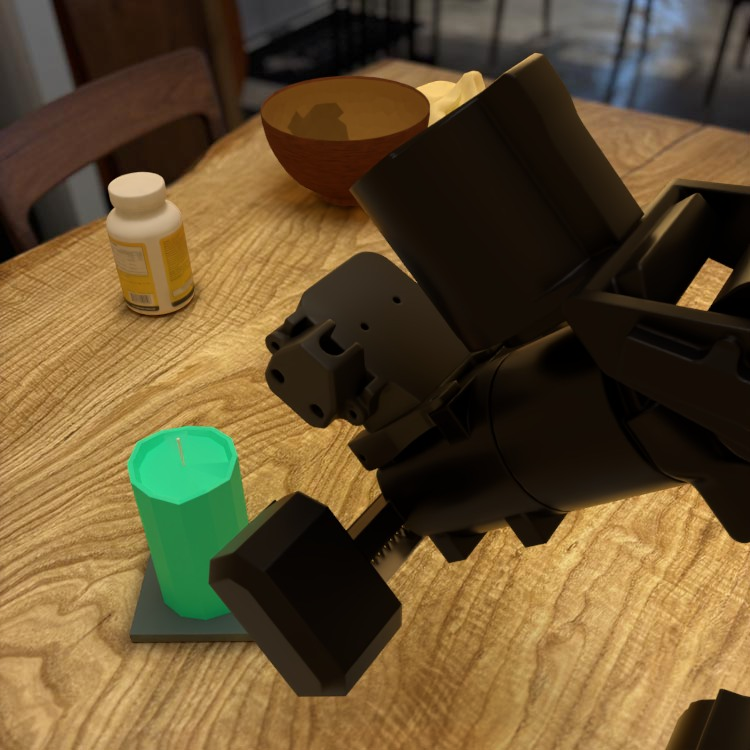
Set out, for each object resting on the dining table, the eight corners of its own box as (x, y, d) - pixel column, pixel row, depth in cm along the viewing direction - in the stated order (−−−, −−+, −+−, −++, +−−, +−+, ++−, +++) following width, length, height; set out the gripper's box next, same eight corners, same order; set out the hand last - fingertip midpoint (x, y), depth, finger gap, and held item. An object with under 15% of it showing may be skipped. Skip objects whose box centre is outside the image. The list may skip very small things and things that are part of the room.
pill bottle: (200, 278, 82) (181, 165, 74) (190, 317, 77) (169, 200, 69) (132, 280, 82) (106, 167, 74) (118, 319, 77) (89, 202, 69)
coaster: (277, 536, 57) (276, 528, 56) (265, 641, 51) (264, 633, 50) (157, 538, 57) (155, 529, 56) (131, 642, 51) (128, 634, 50)
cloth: (408, 85, 120) (408, 40, 116) (541, 94, 117) (546, 48, 113) (374, 151, 103) (373, 102, 100) (528, 164, 100) (533, 113, 96)
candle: (140, 599, 52) (96, 459, 44) (195, 530, 56) (164, 391, 49) (223, 634, 50) (193, 493, 42) (274, 559, 54) (255, 419, 47)
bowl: (416, 238, 87) (418, 145, 81) (249, 226, 90) (238, 135, 83) (436, 163, 100) (439, 79, 94) (291, 155, 103) (284, 72, 97)
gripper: (543, 130, 33) (333, 282, 45) (210, 380, 22) (45, 496, 34) (697, 359, 35) (453, 448, 47) (462, 709, 23) (217, 708, 35)
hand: (314, 509), depth 41 cm, fingers open, 9 cm apart
